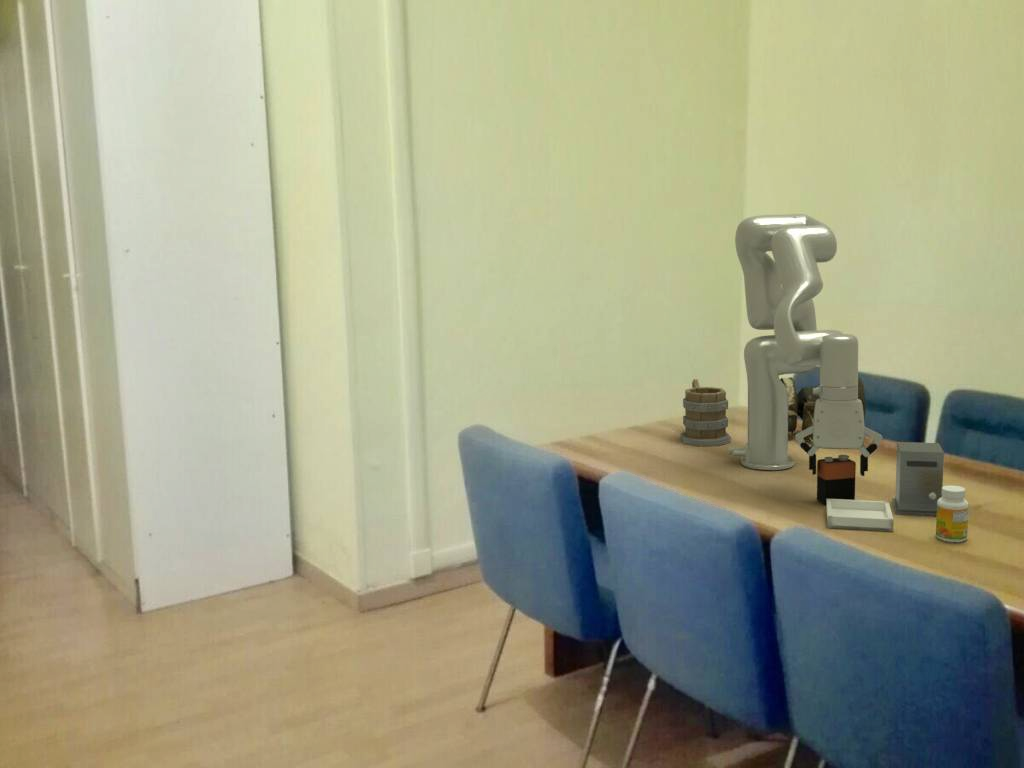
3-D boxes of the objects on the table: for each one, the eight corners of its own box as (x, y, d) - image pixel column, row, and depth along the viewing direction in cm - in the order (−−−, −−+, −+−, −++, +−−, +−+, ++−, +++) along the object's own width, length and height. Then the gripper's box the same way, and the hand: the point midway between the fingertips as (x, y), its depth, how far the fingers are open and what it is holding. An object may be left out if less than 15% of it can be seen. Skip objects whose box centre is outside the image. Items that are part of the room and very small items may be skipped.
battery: (855, 503, 207) (856, 457, 205) (825, 506, 206) (826, 460, 204) (845, 497, 211) (846, 452, 209) (815, 500, 210) (816, 455, 208)
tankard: (733, 445, 260) (734, 390, 257) (685, 447, 260) (685, 391, 257) (718, 429, 279) (718, 377, 277) (674, 430, 279) (674, 378, 277)
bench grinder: (773, 415, 279) (775, 357, 267) (854, 411, 275) (860, 352, 264) (783, 462, 262) (785, 403, 251) (869, 458, 259) (875, 398, 247)
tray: (827, 528, 192) (827, 516, 192) (826, 509, 203) (826, 498, 203) (893, 531, 189) (893, 519, 188) (888, 512, 200) (888, 501, 199)
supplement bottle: (930, 534, 186) (932, 485, 185) (957, 532, 187) (959, 483, 185) (944, 544, 181) (947, 493, 179) (972, 542, 181) (975, 491, 180)
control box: (895, 514, 199) (897, 451, 197) (891, 500, 208) (893, 441, 205) (944, 516, 196) (947, 453, 194) (938, 503, 205) (941, 442, 203)
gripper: (795, 396, 203) (795, 477, 205) (884, 396, 198) (883, 479, 201) (795, 390, 210) (795, 468, 213) (881, 391, 205) (880, 470, 208)
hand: (838, 473), depth 207 cm, fingers open, 9 cm apart
